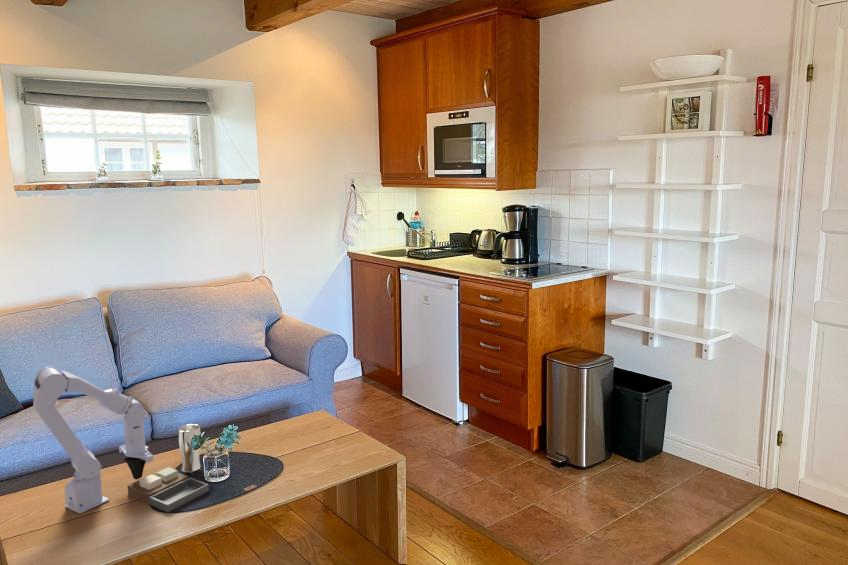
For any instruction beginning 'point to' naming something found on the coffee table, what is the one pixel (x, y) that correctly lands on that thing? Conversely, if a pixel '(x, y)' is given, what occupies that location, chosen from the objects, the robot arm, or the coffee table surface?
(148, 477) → the cream tile
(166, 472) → the sage tile
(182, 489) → the box
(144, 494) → the walnut board
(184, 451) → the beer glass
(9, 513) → the coffee table surface
